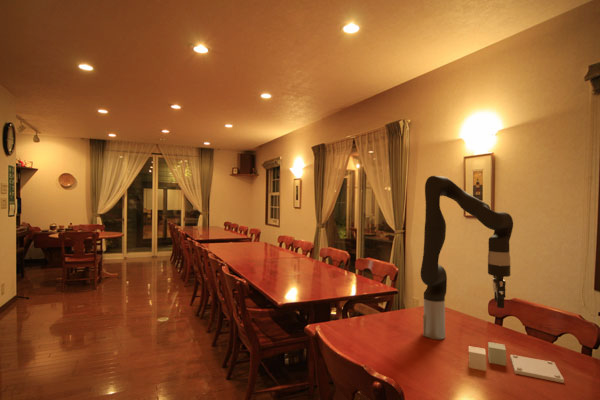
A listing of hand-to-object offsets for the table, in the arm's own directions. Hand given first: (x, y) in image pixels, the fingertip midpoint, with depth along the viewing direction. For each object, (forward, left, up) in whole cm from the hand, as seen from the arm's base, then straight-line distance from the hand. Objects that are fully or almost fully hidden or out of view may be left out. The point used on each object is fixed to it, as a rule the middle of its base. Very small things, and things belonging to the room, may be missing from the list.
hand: (499, 304), depth 125 cm
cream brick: (-8, -7, -22) cm, 25 cm away
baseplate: (+11, 0, -22) cm, 25 cm away
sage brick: (-1, +1, -22) cm, 22 cm away
